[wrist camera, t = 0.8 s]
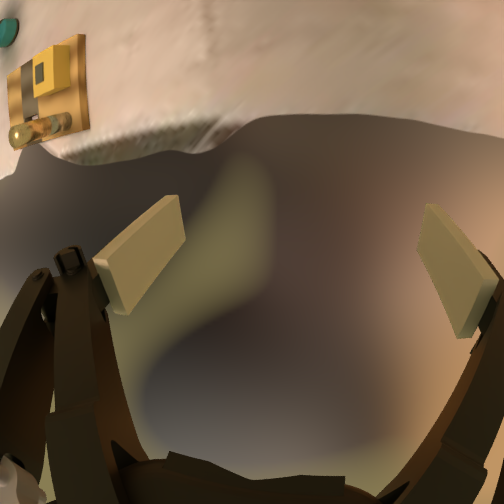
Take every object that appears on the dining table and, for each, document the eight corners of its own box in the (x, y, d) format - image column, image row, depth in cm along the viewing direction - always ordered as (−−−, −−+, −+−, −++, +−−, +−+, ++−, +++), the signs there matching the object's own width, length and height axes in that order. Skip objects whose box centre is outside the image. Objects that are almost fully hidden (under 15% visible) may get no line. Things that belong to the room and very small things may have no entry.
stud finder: (48, 56, 32) (31, 57, 28) (69, 45, 31) (51, 45, 27) (49, 95, 36) (32, 98, 32) (70, 86, 35) (52, 88, 31)
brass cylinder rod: (59, 114, 38) (7, 128, 27) (71, 109, 37) (17, 123, 27) (61, 131, 39) (10, 149, 29) (73, 128, 39) (20, 145, 28)
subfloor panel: (13, 74, 36) (7, 75, 34) (85, 34, 31) (77, 33, 30) (20, 148, 45) (13, 150, 43) (89, 128, 40) (82, 130, 39)
